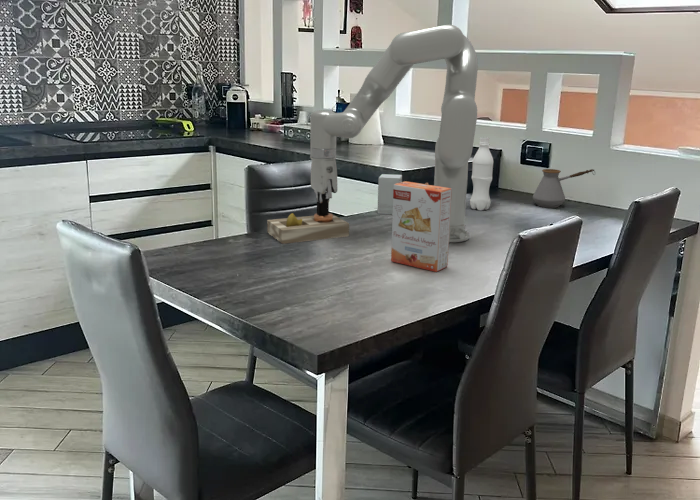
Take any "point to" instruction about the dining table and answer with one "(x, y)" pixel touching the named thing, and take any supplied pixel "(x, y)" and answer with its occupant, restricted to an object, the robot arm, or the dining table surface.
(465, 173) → the robot arm
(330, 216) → the plunger
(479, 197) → the water bottle
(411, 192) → the cracker box
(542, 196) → the coffee pot
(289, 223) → the knob
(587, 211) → the dining table surface
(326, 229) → the mount
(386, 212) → the supplement box
